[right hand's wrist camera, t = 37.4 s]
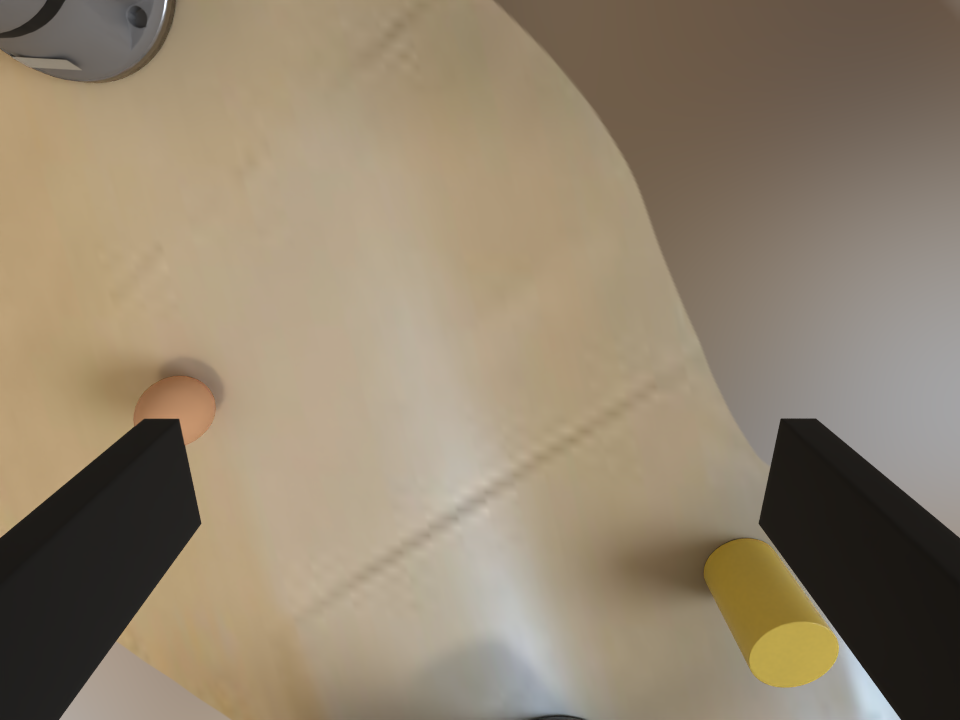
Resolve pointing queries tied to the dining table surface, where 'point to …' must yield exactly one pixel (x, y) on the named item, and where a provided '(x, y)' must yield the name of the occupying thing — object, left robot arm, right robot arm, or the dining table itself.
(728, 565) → the can
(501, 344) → the dining table surface
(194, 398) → the egg
